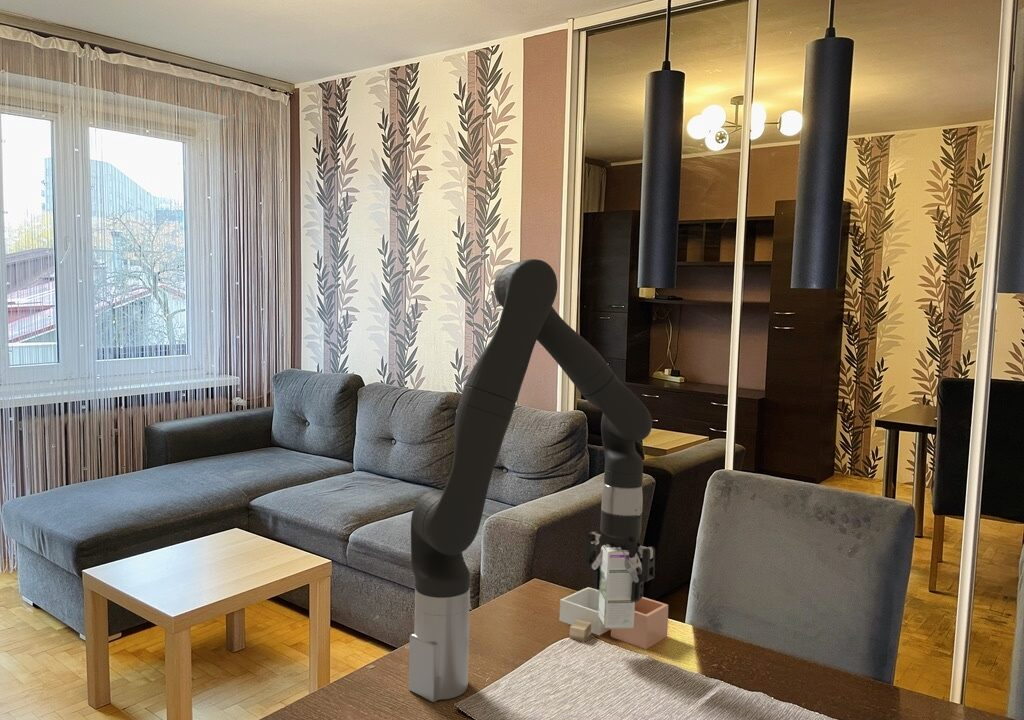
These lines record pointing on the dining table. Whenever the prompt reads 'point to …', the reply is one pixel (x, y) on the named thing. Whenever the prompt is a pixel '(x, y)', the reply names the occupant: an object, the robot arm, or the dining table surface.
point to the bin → (582, 609)
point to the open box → (645, 624)
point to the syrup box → (615, 590)
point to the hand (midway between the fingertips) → (616, 594)
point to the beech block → (580, 630)
